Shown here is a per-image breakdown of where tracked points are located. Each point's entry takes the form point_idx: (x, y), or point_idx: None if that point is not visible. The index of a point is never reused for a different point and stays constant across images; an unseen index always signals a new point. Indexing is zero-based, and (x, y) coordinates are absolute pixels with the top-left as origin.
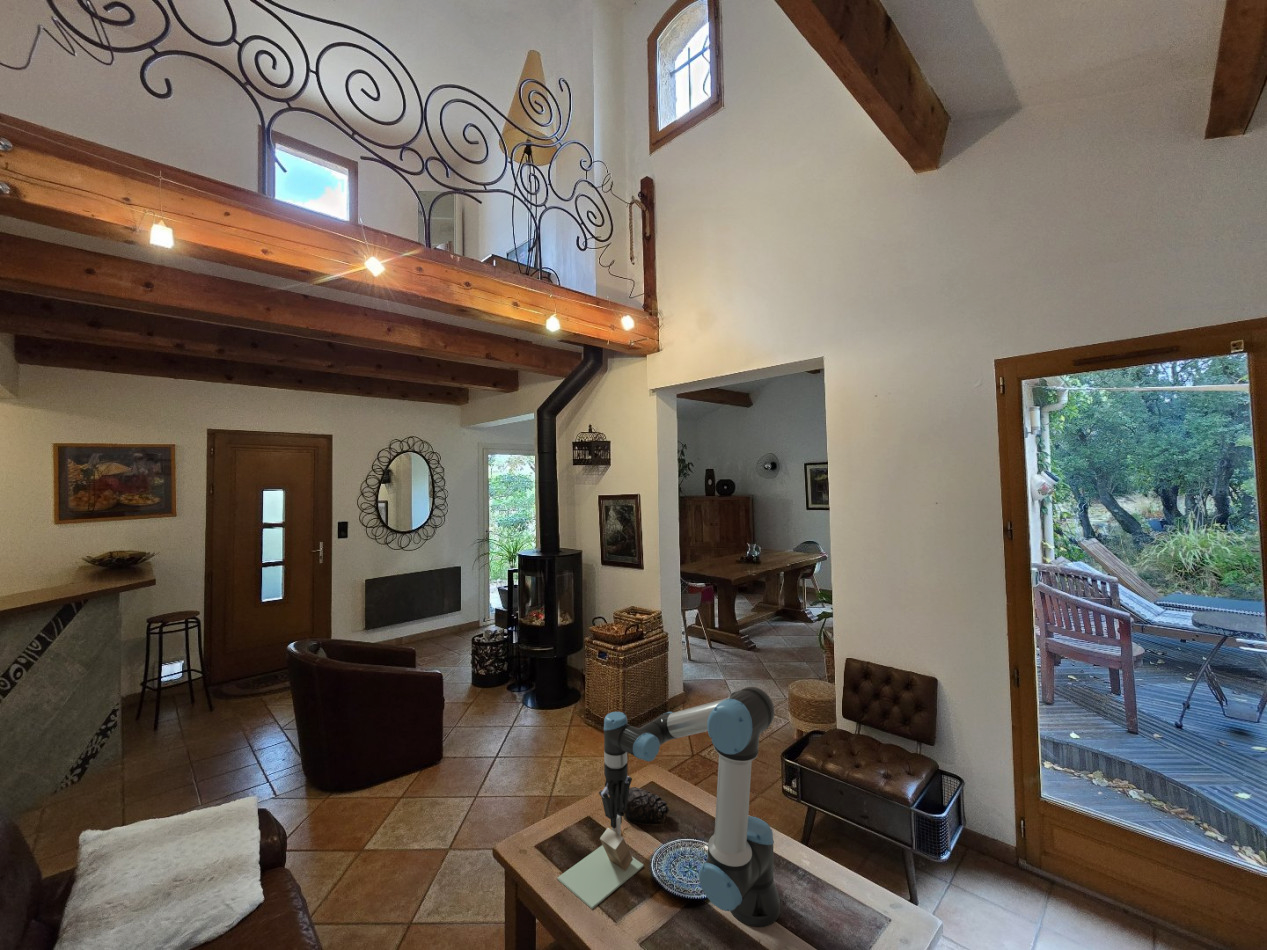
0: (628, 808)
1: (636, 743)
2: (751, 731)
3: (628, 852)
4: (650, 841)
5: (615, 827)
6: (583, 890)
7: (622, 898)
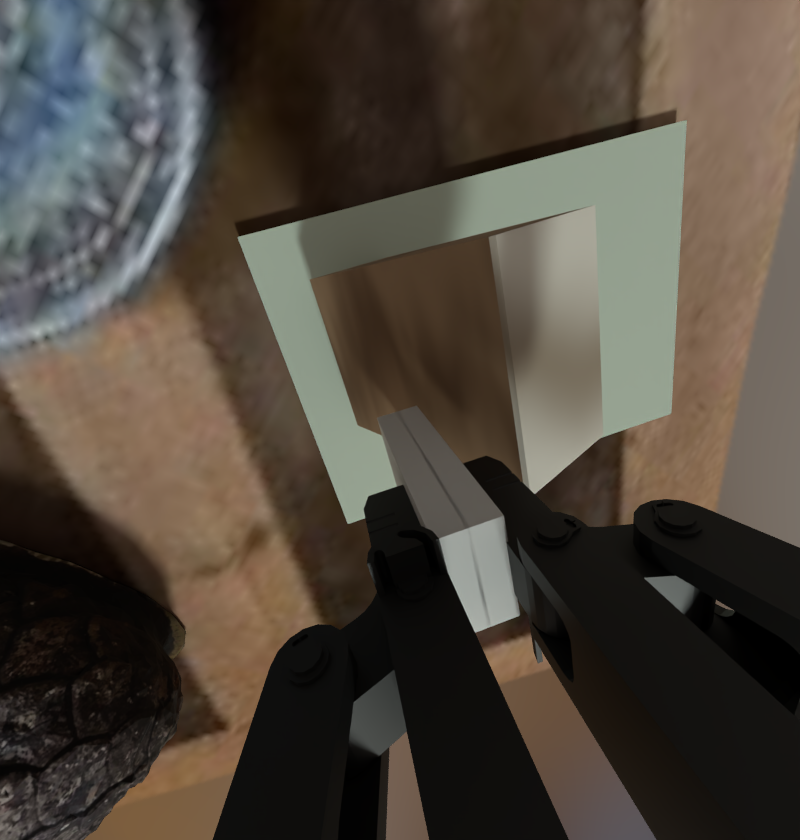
0: (137, 687)
1: None
2: None
3: (365, 265)
4: (86, 420)
5: (465, 463)
6: (643, 267)
7: (504, 68)
